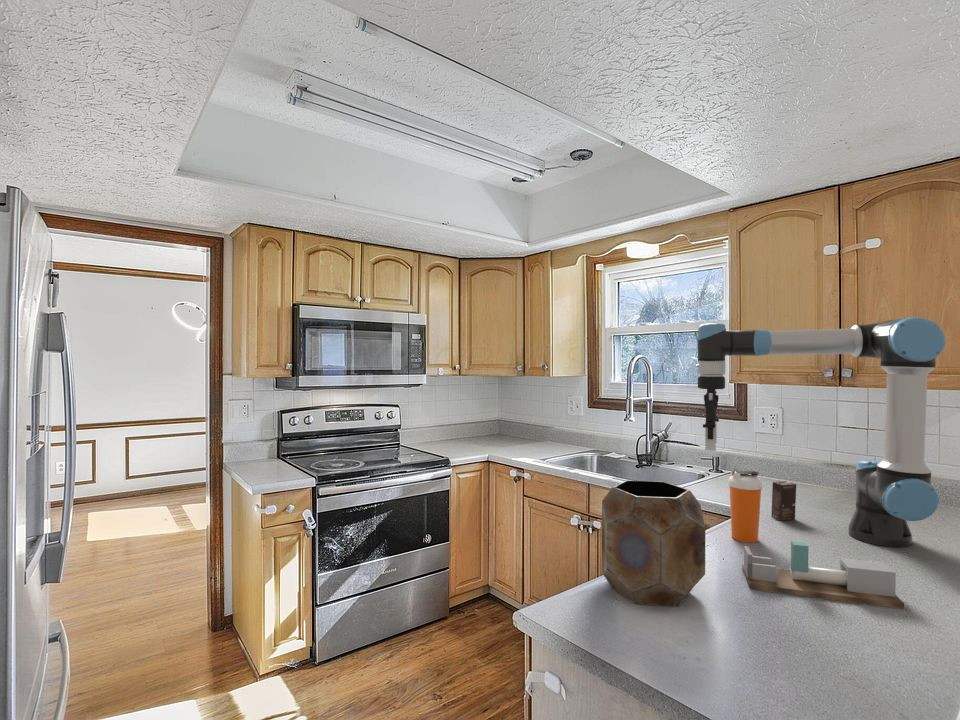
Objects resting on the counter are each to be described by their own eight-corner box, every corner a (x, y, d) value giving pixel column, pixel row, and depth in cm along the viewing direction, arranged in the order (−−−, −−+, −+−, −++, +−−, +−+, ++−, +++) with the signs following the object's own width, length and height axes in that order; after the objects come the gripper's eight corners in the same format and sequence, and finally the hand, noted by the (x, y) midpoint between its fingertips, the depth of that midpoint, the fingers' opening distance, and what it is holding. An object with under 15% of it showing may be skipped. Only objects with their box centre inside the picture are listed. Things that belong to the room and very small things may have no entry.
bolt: (887, 587, 121) (887, 550, 121) (892, 593, 118) (893, 555, 118) (790, 575, 127) (790, 540, 127) (793, 581, 124) (794, 545, 124)
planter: (579, 579, 129) (579, 482, 128) (659, 564, 138) (659, 474, 138) (638, 622, 108) (639, 507, 108) (727, 601, 117) (728, 495, 117)
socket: (770, 572, 130) (771, 548, 130) (775, 582, 124) (776, 557, 124) (743, 569, 132) (744, 546, 132) (747, 578, 126) (747, 554, 126)
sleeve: (884, 585, 122) (885, 562, 122) (895, 596, 117) (895, 572, 117) (839, 580, 125) (839, 557, 125) (847, 591, 120) (848, 567, 120)
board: (882, 585, 125) (882, 580, 125) (904, 609, 114) (904, 603, 114) (742, 569, 135) (742, 564, 135) (749, 589, 123) (749, 583, 123)
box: (781, 521, 173) (782, 484, 173) (771, 517, 177) (771, 481, 177) (796, 519, 175) (797, 483, 174) (785, 515, 179) (785, 480, 179)
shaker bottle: (765, 544, 152) (766, 475, 152) (732, 542, 154) (733, 474, 153) (756, 534, 161) (756, 468, 160) (724, 532, 162) (725, 467, 162)
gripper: (699, 373, 170) (699, 439, 171) (695, 377, 148) (695, 452, 148) (725, 374, 167) (725, 441, 167) (724, 377, 145) (724, 454, 145)
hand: (711, 446), depth 158 cm, fingers open, 13 cm apart
